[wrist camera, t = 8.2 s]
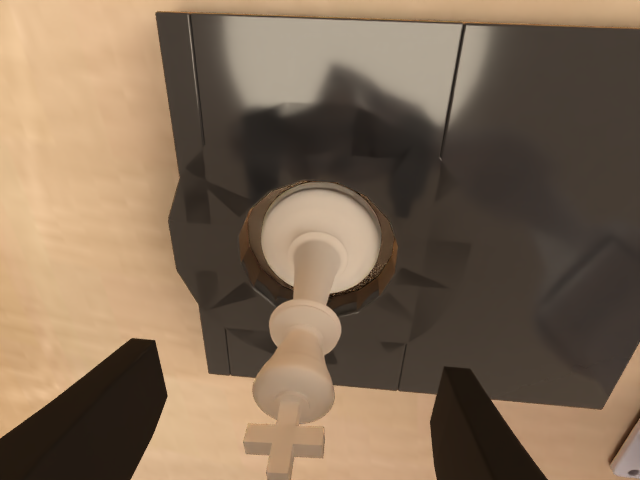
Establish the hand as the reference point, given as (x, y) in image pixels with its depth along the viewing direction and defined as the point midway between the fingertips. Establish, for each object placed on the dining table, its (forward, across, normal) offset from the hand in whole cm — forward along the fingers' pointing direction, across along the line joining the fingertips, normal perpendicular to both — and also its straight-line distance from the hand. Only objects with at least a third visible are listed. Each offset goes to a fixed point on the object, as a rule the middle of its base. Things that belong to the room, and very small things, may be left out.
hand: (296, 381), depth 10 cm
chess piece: (+8, 0, 0) cm, 8 cm away
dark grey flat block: (+8, -4, 0) cm, 8 cm away
